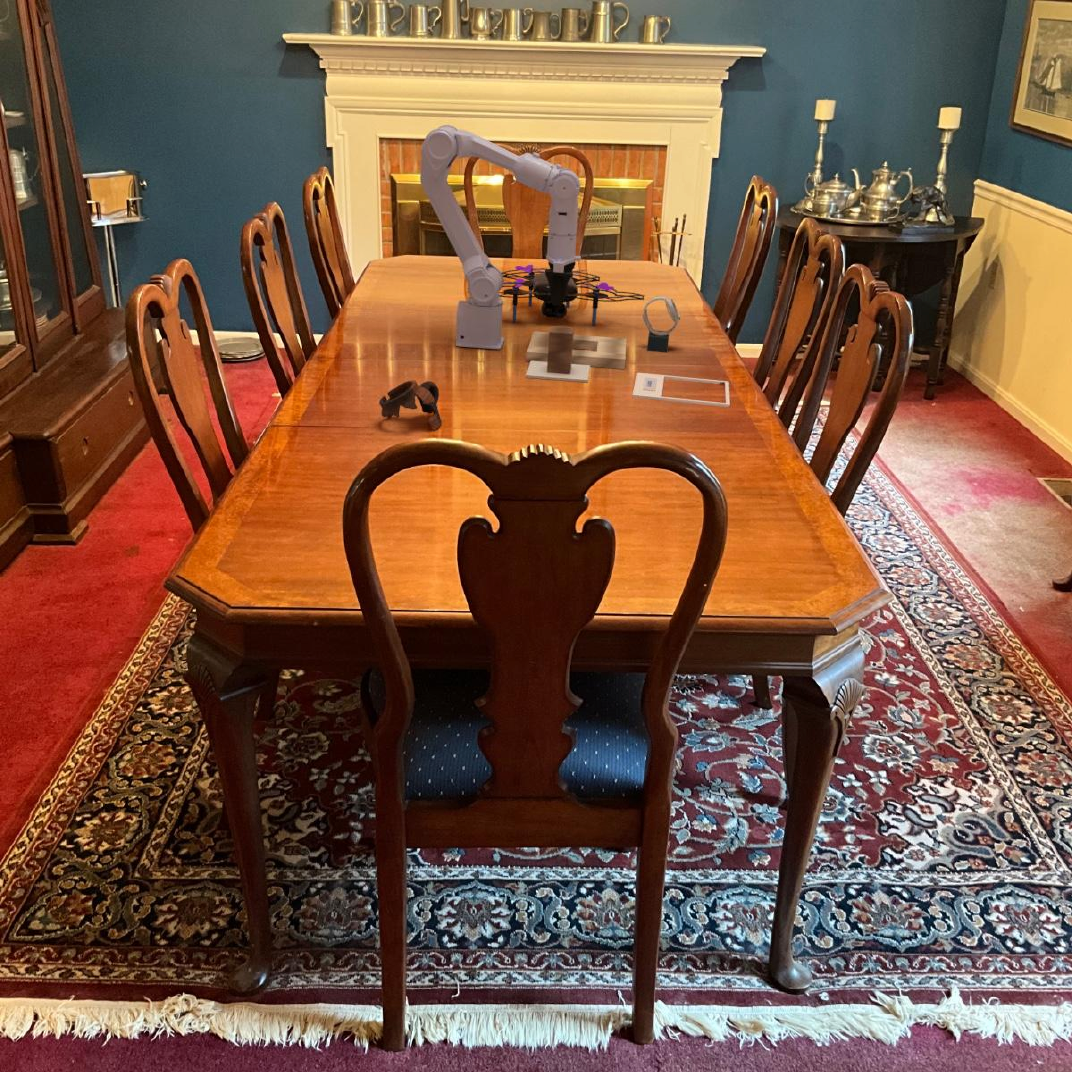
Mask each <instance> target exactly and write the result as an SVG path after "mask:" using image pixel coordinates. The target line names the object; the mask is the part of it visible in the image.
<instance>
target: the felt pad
mask: <svg viewBox="0 0 1072 1072" xmlns="http://www.w3.org/2000/svg"><path fill="white" fill-rule="evenodd" d="M590 369H591V366H590V365H579V364H571V371H570V374H560V373H548V372H547V362H542V361H529V365H528V368H527V371H526V374H525V378H527V379H539V380H552V381H561V382H562V381H563V382H564V381H565V382H575V383H588V382H589V375H590Z"/></svg>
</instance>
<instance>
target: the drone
mask: <svg viewBox="0 0 1072 1072" xmlns="http://www.w3.org/2000/svg"><path fill="white" fill-rule="evenodd" d="M575 268H576V266H574V268H573V270H572V272H573V275H572V276H571V278H570V280H569V282H568V287H567V291H566V295H565V298H564V302H563V305H562V306H557V305H552V302H551V294H550V287H549V283H548V280H547V277H546V275H545V269H546V268H545V267H537V268H535V267H534V264H528V265H526V266H521V265H517V266H515V269H512V270H511V269H510V270H506V271H505V270H504V271H502V272H501V271H500V272H501V273H502V275H503V278H507V279H511V280H515V281H509V280H507V279H504V281H505V282H504V283H503V287H502V288H507V289H504V290H503V291H499V293H498V294H499V296H500V298H508V299H509V298H512V320H511V321H512V323H513V324H516V323H517V307H518V301H519V300H518V299H520V298H521V299H528V301H527V302H528V306H527V307H528V308H532V305H533V303H532V302H533V298H536V299H537V300H540V301H542V304H541V313H542V315H543V316H544V317H545V318H547V319H563V318H565V317H566V316H567V314H568V309H570V304H571V303H570V302H573V301H575V300H576V299H577V300H584V301H591V302H592V321H591V326H592V327H596V320H597V310H598V309H599V306H598V305H599V302H603V303H604V302H606V303H608V302H609V303H610V302H611V303H612V302H614V303H615V302H617V303H618V302H623V301H645V298H644V297H646V295H644V294H641V293H635V292H629V291H618V290H617V289H615V287H614V286H610V285H609V284H608V283H607V282H601V280H600V279H601V276H598V275H595V274H591V273H586V272H587V270H585V269H584V270H583V269H582V270H574V269H575ZM518 271H520V272H518ZM510 272H513V273H510ZM520 274H528V275H523V276H521V275H520ZM581 274H582V275H581ZM585 275H588V276H585ZM589 276H592V277H589ZM577 277H580V278H581V277H582V278H581V279H580V278H579V279H578V278H577ZM524 279H525V280H524ZM582 281H583V282H582ZM594 282H600V283H599V284H598V283H596V284H595V285H594V284H592V283H594ZM578 285H579V286H578ZM523 286H524V287H528V290H525V289H520V288H521V287H523ZM579 288H582V289H587V290H591V292H585V293H584V292H579V290H578V289H579ZM604 292H607V293H610V294H612V295H614V296H609V295H608V294H606V293H604ZM622 294H623V295H622ZM625 294H629V295H625ZM525 295H526V296H525ZM527 295H528V296H527ZM582 297H586V298H582ZM622 298H624V299H622ZM605 299H606V300H605ZM617 299H619V300H617Z"/></svg>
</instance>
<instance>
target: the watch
mask: <svg viewBox="0 0 1072 1072" xmlns="http://www.w3.org/2000/svg"><path fill="white" fill-rule="evenodd" d="M656 301H664V303H665V308H666V309H667V311H668V315H669V318H671V320H672V321H673V322H674V325H673V326H672V327H671V328H669V329H668V330H656V329H654V328H653V325H652V323H650V320H649V317H648V314H647V311H648V310H647V308H648V306H649V305H650V304H652V303H653V302H656ZM642 318H643V322H644V324H645V327H646V329H647V331H648V338H647V347H646V351H651V352H659V353H660V352H661V353H668V348H669V343H670V334H671V333H673V332H674V331H675V330H676V328H677V327H678V324H679V323H678V322H679V321H681V316H680V313H679V311H678V308H677V305H676V304H675V302H674V300H673V299H672V298H669V297H667V296H665V295H664V296H663V295H659V296H655V297H652V298H651V299H649V300H648V301H647V303H645V306H644V309H643V312H642Z"/></svg>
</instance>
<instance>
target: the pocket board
mask: <svg viewBox="0 0 1072 1072" xmlns="http://www.w3.org/2000/svg"><path fill="white" fill-rule="evenodd" d="M549 332H550V331H548V332H547V331H546V332H545V331H537V330H536V331H535V330H534V331H533V333H532V335H531V338H530V341H529V344H528V347H527V350H526V356H525V357H526V358H525V359H526V360H525V361H526V362H530V361H542V362H547V361H548V346H549ZM626 354H627V338H621V337H611V336H597V335H596V336H595V335H584V334H574V336H573V349H572V363H571V364H579V365H590V367H594V368H595V367H596V368H606V369H618V370H619V369H620V370H625V369H626V358H627V355H626Z"/></svg>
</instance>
